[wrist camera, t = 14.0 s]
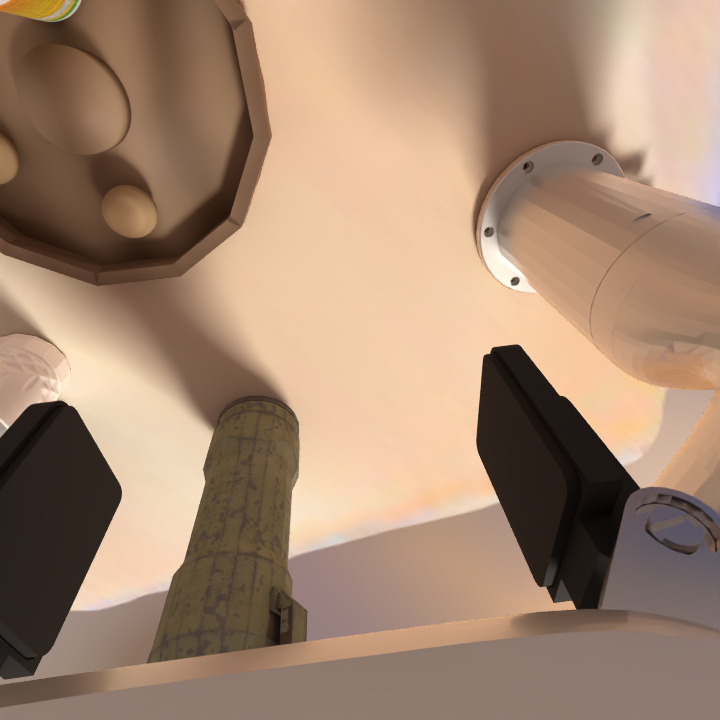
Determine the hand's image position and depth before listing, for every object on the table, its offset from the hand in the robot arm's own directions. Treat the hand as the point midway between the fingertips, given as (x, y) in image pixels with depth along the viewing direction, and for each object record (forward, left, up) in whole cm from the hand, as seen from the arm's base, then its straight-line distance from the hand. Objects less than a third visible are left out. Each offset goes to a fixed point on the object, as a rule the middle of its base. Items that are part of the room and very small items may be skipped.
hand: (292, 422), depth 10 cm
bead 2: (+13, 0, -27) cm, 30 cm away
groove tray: (+14, -7, -28) cm, 32 cm away
